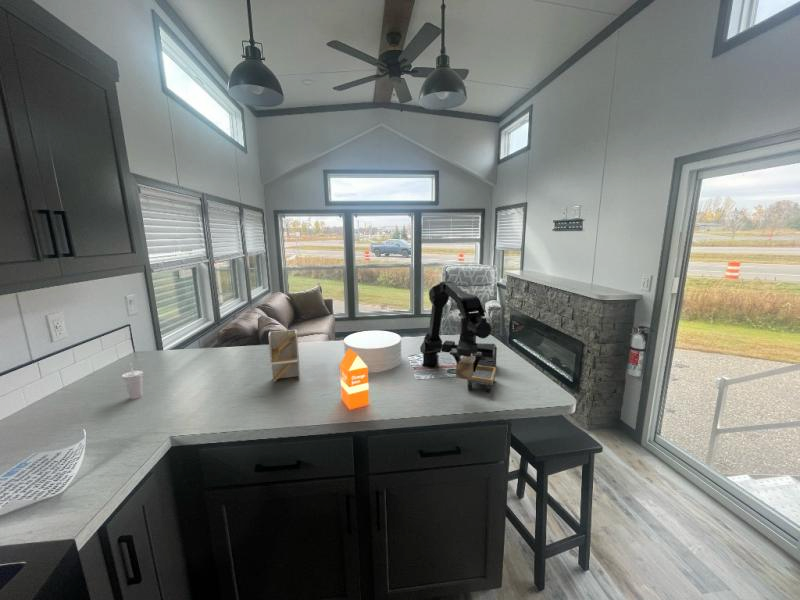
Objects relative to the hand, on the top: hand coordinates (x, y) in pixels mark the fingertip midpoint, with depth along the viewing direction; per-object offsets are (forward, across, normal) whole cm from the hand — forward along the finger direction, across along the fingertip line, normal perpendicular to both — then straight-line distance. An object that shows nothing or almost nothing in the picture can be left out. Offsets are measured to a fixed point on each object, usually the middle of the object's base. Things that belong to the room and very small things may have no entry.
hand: (467, 370), depth 122 cm
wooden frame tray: (+11, +4, +13) cm, 18 cm away
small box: (+11, +2, +33) cm, 35 cm away
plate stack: (+11, -50, +21) cm, 56 cm away
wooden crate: (+12, -76, -12) cm, 77 cm away
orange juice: (+11, -38, -18) cm, 44 cm away
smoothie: (+11, -120, -45) cm, 129 cm away
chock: (+1, 0, 0) cm, 1 cm away
